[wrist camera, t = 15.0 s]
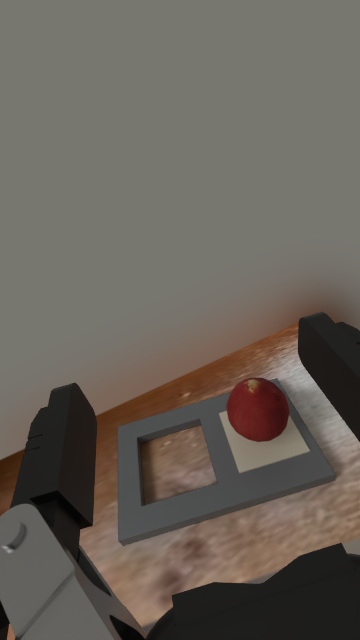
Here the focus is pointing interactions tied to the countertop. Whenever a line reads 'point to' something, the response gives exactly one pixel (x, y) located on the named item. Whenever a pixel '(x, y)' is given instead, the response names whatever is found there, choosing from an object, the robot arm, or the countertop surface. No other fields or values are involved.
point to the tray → (215, 468)
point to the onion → (257, 410)
